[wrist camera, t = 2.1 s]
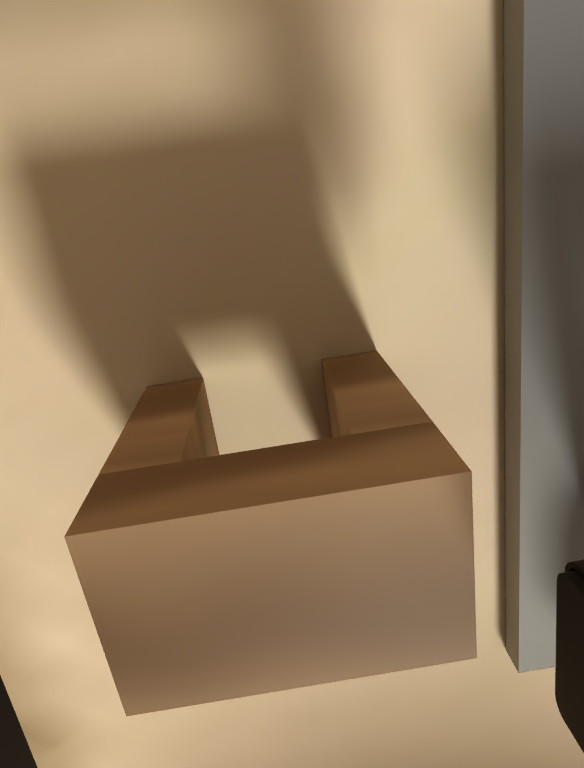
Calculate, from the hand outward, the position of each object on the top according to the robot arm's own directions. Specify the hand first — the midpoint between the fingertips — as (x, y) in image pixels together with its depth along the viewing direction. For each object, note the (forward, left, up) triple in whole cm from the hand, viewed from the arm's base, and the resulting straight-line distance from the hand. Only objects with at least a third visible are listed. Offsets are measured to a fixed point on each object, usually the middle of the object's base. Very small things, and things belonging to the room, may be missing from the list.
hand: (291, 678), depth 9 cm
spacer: (-1, 0, -8) cm, 8 cm away
